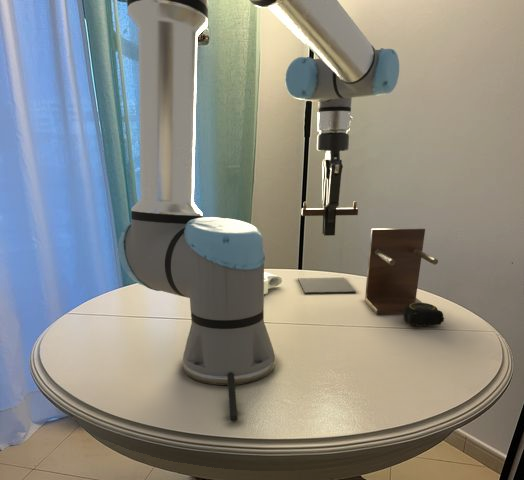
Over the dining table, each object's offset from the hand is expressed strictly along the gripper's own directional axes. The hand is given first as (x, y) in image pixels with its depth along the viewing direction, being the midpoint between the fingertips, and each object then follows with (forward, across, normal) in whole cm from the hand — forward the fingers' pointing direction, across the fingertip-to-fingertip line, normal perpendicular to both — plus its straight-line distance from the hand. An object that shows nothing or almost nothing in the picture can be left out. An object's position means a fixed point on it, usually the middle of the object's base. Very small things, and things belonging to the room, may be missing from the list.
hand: (328, 234), depth 116 cm
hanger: (-5, 0, 0) cm, 5 cm away
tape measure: (+14, -31, -14) cm, 37 cm away
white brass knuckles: (+14, +1, +21) cm, 25 cm away
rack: (+14, -20, -13) cm, 28 cm away
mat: (+14, 0, 0) cm, 14 cm away
